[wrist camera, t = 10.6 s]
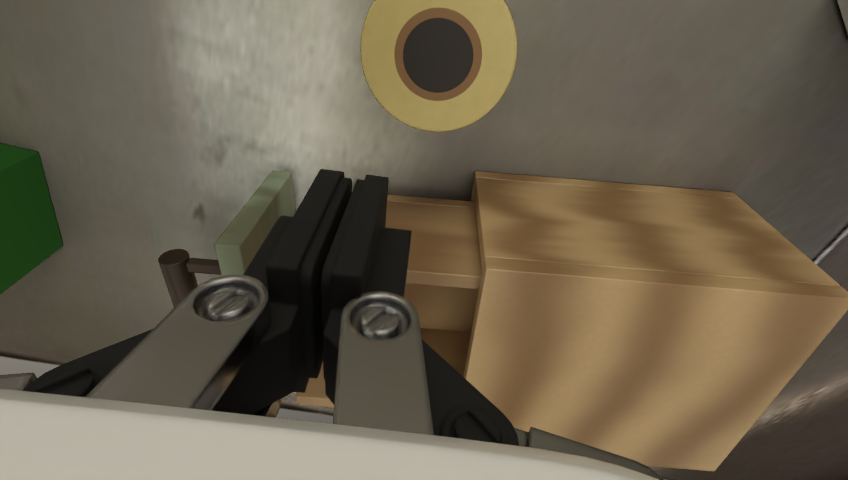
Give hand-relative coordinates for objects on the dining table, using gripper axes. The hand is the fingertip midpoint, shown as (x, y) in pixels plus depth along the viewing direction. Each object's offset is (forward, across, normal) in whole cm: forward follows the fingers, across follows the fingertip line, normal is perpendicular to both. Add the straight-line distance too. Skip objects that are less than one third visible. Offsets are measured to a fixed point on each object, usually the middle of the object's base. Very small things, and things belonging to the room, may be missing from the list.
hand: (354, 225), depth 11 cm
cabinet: (+15, -13, +12) cm, 23 cm away
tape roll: (+15, -2, -2) cm, 15 cm away
